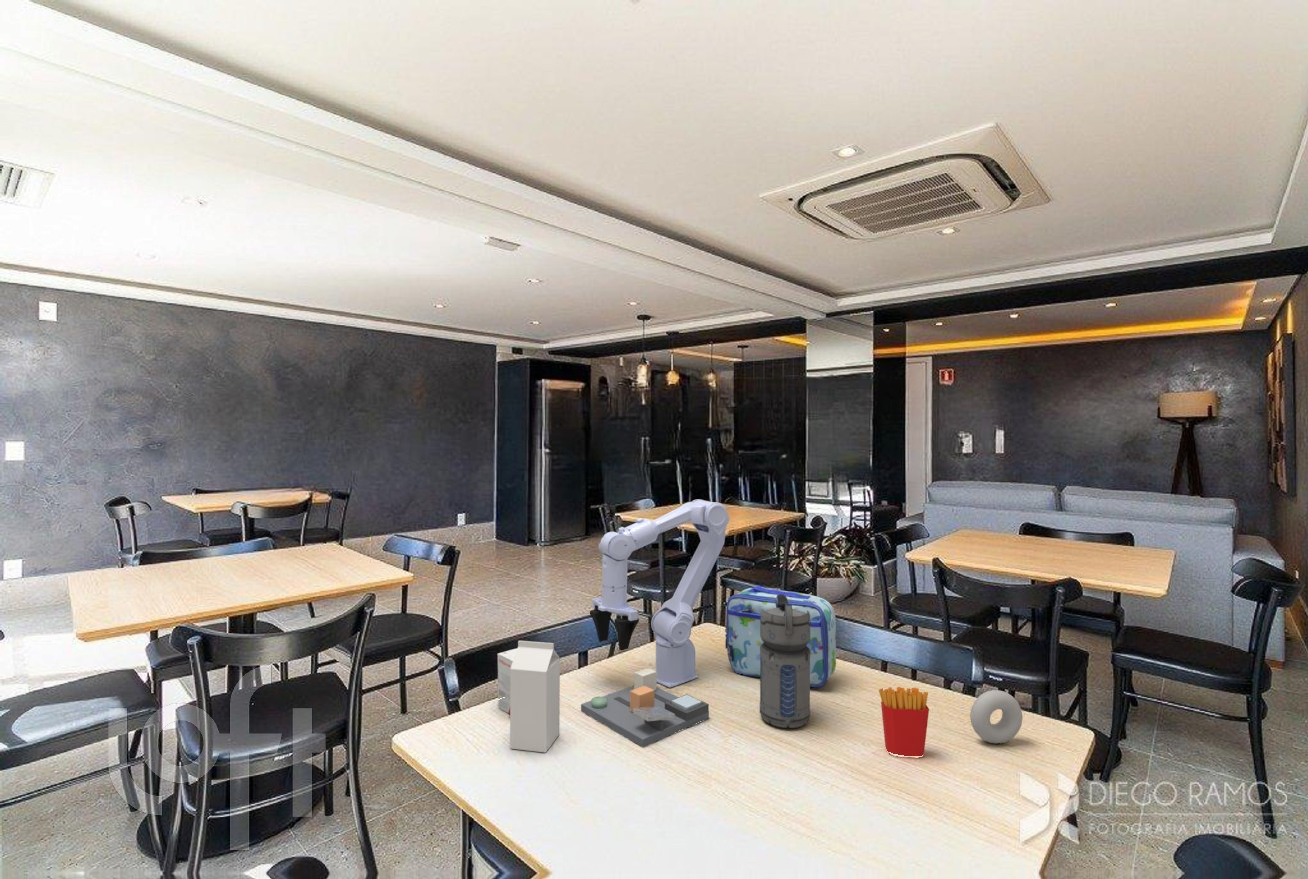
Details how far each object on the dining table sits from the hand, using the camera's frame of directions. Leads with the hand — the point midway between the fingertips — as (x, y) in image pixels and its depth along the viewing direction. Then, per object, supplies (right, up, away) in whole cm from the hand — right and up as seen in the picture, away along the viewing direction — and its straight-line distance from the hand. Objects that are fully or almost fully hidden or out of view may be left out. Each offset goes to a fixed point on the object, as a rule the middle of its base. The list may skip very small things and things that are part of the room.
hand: (613, 644), depth 139 cm
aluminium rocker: (+9, -7, -20) cm, 23 cm away
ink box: (-20, -11, -11) cm, 25 cm away
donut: (+75, -11, -23) cm, 79 cm away
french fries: (+55, -11, -27) cm, 62 cm away
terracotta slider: (+7, -9, -14) cm, 18 cm away
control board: (+7, -11, -12) cm, 18 cm away
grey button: (+16, -9, -14) cm, 23 cm away
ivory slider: (+7, -9, -4) cm, 12 cm away
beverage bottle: (+36, -11, -13) cm, 40 cm away
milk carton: (-13, -11, -24) cm, 29 cm away
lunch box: (+40, -11, +9) cm, 42 cm away
